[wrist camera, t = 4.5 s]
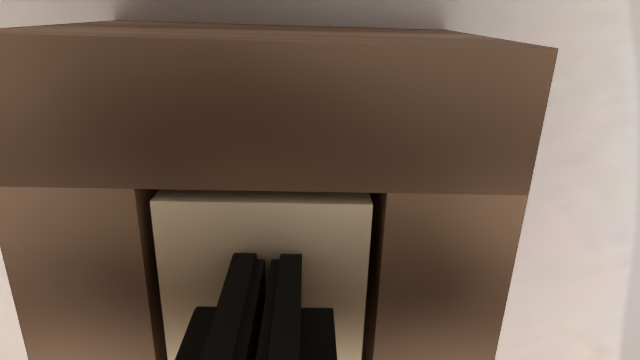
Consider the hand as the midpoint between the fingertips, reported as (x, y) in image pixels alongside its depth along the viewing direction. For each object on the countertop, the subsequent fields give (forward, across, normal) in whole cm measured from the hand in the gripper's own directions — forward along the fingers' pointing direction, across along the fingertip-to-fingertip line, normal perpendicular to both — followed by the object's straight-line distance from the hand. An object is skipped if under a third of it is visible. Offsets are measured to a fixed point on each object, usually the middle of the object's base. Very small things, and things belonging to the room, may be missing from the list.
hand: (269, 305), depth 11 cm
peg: (+8, 0, 0) cm, 8 cm away
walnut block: (+8, 0, +6) cm, 10 cm away
